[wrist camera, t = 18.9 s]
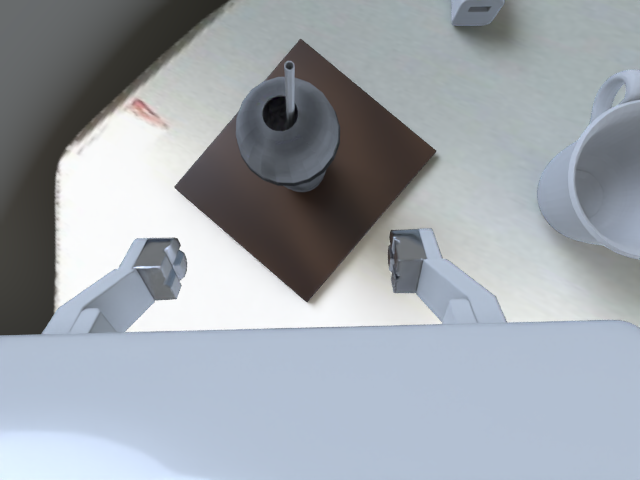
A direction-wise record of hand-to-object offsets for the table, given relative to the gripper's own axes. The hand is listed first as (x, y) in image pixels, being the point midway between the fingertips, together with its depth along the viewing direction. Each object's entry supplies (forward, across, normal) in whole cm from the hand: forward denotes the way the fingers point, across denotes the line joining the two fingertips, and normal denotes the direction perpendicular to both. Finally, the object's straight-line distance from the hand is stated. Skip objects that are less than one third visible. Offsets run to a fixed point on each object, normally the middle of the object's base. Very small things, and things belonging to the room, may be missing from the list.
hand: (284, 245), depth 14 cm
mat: (+22, +1, +11) cm, 25 cm away
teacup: (+21, -26, +13) cm, 35 cm away
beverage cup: (+22, +1, +10) cm, 24 cm away
